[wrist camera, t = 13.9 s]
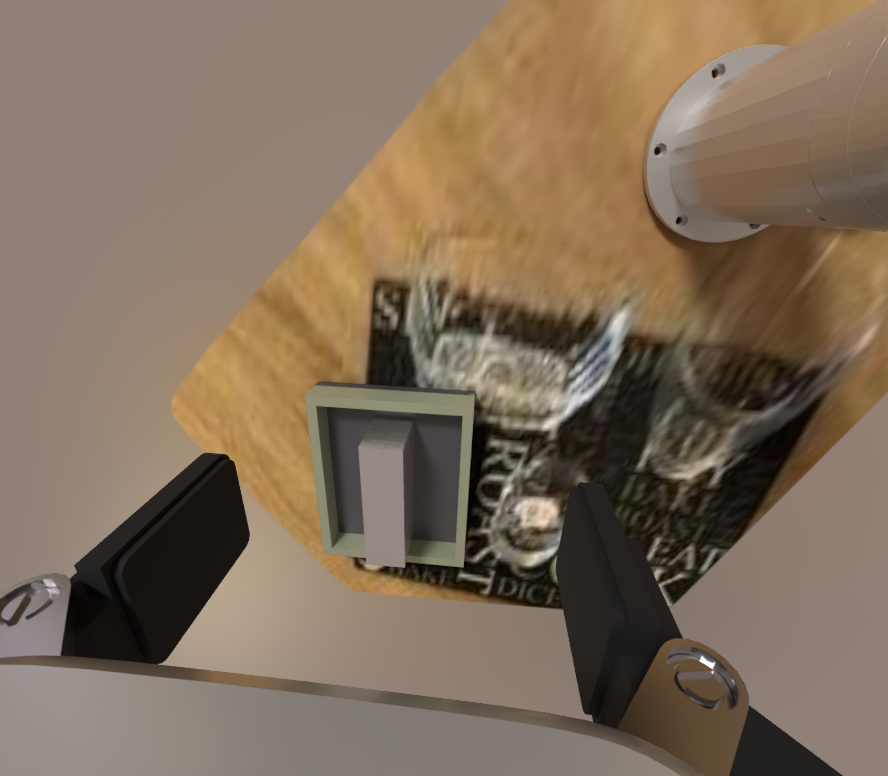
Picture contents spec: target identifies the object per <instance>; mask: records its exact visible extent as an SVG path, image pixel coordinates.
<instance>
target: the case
mask: <svg viewBox="0 0 888 776" xmlns="http://www.w3.org/2000/svg"><path fill="white" fill-rule="evenodd" d="M474 400H475V391H460V390H444V389H429V388H413V387H397V386H382V385H366V384H351V383H335V382H319V381H318V382H317V383H316V385H315V386H314V387H313V388H312V389H311V390H310V391H309V392H308V393H307V394H306V395H305V403H306V411H307V419H308V427H309V436H310V444H311V452H312V460H313V469H314V477H315V485H316V493H317V502H318V510H319V518H320V526H321V534H322V543H323V551H324V554H328V555H339V556H349V557H360V558H366V551H365V537H364V522H363V508H362V493H361V479H360V464H359V449H358V447H359V445H360V443H361V441H362V440H363V438H364V436H365V434H366V432H367V430H368V428H369V426H370V424H371V423H372V421H373V419H374V417H375V416H384V417H399V418H414V529H413V534H412V538H411V543H410V547H409V552H408V556H407V561H406V562H412V563H423V564H433V565H444V566H454V567H464V553H465V538H466V522H467V507H468V492H469V477H470V462H471V446H472V431H473V416H474Z"/></svg>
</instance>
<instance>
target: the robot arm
mask: <svg viewBox="0 0 888 776" xmlns="http://www.w3.org/2000/svg"><path fill="white" fill-rule="evenodd" d="M712 71H714V72H715V77H714V78H713V77H712ZM655 148H658V149H659V153H658V154H657V155H655V154H654V149H655ZM643 179H644V188H645V192H646V195H647V198H648V201H649V204H650V206H651V208H652V209H653V211H654V213H655V215H656V216H657V218H658V219H659V220H660V221H661V222H662V223H663V224H664V225H665V226H666V227H667V228H669V229H670V230H672V231H673V232H675V233H676V234H678V235H680V236H683V237H686V238H688V239H691V240H696V241H701V242H717V243H721V242H727V241H734V240H738V239H741V238H744V237H747V236H750V235H753V234H755V233H757V232H759V231H761V230H763V229H765V228H767V227H769V226H770V225H781V226H798V227H815V228H832V229H848V230H865V231H882V232H886V231H888V0H877V1H875V2H873V3H872V4H870V5H868V6H866V7H864V8H862V9H860V10H858V11H856V12H855V13H853V14H851V15H849V16H847V17H845V18H843V19H841V20H839V21H837V22H836V23H834V24H832V25H830V26H828V27H826V28H824V29H822V30H820V31H819V32H817V33H815V34H813V35H811V36H809V37H807V38H805V39H803V40H802V41H800V42H798V43H796V44H794V45H792V46H790V47H786V46H780V45H772V44H763V45H753V46H747V47H744V48H741V49H737V50H734V51H731V52H728V53H726V54H725V55H723V56H721V57H719V58H717V59H715V60H713V61H711V62H710V63H708V64H707V65H705V66H704V67H702V68H701V69H699V70H698V71H696V72H695V73H694V74H693V75H692V76H691V77H690V78H688V79H687V80H686V81H685V82H684V83H683V84H682V85H681V86H680V87H679V88H678V89H677V90H676V91H675V93H674V94H673V95H672V96H671V97H670V99H669V100H668V101H667V102H666V104H665V106H664V107H663V109H662V111H661V112H660V114H659V116H658V117H657V119H656V121H655V123H654V126H653V128H652V131H651V133H650V135H649V138H648V142H647V146H646V150H645V154H644V164H643ZM677 217H679V218H680V221H679V223H677V224H676V219H677ZM749 224H751V225H749ZM249 536H250V533H249V528H248V523H247V518H246V514H245V509H244V504H243V500H242V495H241V490H240V486H239V481H238V476H237V472H236V467H235V463H234V462H233V461H232V460H230V458H229V457H228V456H227V455H225V454H215V453H204V454H202V455H200V456H199V457H198V458H197V459H196V460H195V461H193V462H192V463H191V464H190V465H189V466H188V467H187V468H186V469H184V470H183V471H182V472H181V473H180V474H179V475H177V476H176V477H175V478H174V479H173V480H172V481H171V482H169V483H168V484H167V485H166V486H165V487H164V488H162V489H161V490H160V491H159V492H158V493H157V494H156V495H154V496H153V497H152V498H151V499H150V500H149V501H148V502H146V503H145V504H144V505H143V506H142V507H141V508H139V510H137V511H136V512H135V513H134V514H133V515H131V516H130V517H129V518H128V519H127V520H126V521H125V522H123V523H122V524H121V525H120V526H119V527H118V528H116V529H115V530H114V531H113V532H112V533H111V534H110V535H108V537H106V538H105V539H104V540H103V541H102V542H101V543H99V544H98V545H97V546H96V547H95V548H94V549H92V550H91V551H90V552H89V553H88V554H87V555H85V556H84V557H83V558H82V559H81V560H80V561H79V562H77V563H76V564H75V565H74V566H75V568H76V570H77V573H76V574H75V575H74V576H72V577H71V578H70V579H69V578H68V577H67V576H66V575H63V574H58V573H52V574H43V575H39V576H36V577H32V578H30V579H27V580H24V581H22V582H20V583H17V584H15V585H13V586H12V587H10V588H8V589H6V590H4V591H3V592H1V593H0V776H842V775H841V774H840V773H838V772H837V771H836V770H834V769H833V768H832V767H830V766H829V765H828V764H826V763H825V762H824V761H822V760H821V759H820V758H819V757H817V756H816V755H814V754H813V753H812V752H810V751H809V750H808V749H807V748H805V747H804V746H803V745H801V744H800V743H799V742H797V741H796V740H795V739H793V738H792V737H790V736H789V735H788V734H787V733H785V732H784V731H783V730H781V729H780V728H779V727H777V726H776V725H775V724H773V723H772V722H771V721H769V720H768V719H766V718H765V717H764V716H762V715H761V714H760V713H759V712H757V711H756V710H754V709H753V708H752V707H751V706H749V695H748V692H747V689H746V686H745V684H744V682H743V680H742V679H741V677H740V675H739V674H738V672H737V671H736V670H735V669H734V668H733V666H731V664H729V662H728V661H727V660H726V659H725V658H723V657H722V656H721V655H720V654H718V653H717V652H716V651H714V650H713V649H711V648H709V647H708V646H706V645H704V644H702V643H700V642H697V641H693V640H690V639H683V637H682V635H681V633H680V631H679V629H678V627H677V625H676V622H675V620H674V618H673V616H672V613H671V611H670V609H669V607H668V605H667V603H666V600H665V598H664V596H663V594H662V592H661V590H660V587H659V585H658V583H657V581H656V579H655V576H654V574H653V572H652V570H651V568H650V566H649V563H648V561H647V559H646V557H645V555H644V553H643V550H642V548H641V546H640V544H639V543H638V541H637V540H636V539H634V538H626V537H625V536H624V533H623V531H622V529H621V526H620V524H619V522H618V519H617V517H616V515H615V512H614V510H613V508H612V505H611V503H610V500H609V498H608V496H607V493H606V491H605V489H604V487H603V485H602V484H596V483H583V482H580V483H579V484H578V486H577V487H572V488H571V489H570V493H569V498H568V504H567V509H566V514H565V519H564V525H563V530H562V535H561V540H560V546H559V551H558V556H557V562H556V574H557V580H558V585H559V590H560V595H561V601H562V606H563V611H564V616H565V620H566V626H567V631H568V636H569V642H570V647H571V652H572V657H573V662H574V667H575V672H576V678H577V683H578V687H579V693H580V698H581V703H582V708H583V711H584V713H585V714H588V715H592V718H593V722H590V721H587V720H582V719H576V718H571V717H566V716H561V715H556V714H551V713H545V712H537V711H531V710H524V709H517V708H510V707H503V706H496V705H489V704H482V703H475V702H467V701H459V700H451V699H443V698H435V697H427V696H419V695H411V694H403V693H395V692H387V691H379V690H371V689H363V688H355V687H346V686H338V685H330V684H321V683H313V682H305V681H296V680H288V679H279V678H270V677H262V676H253V675H246V674H245V675H244V674H237V673H228V672H219V671H210V670H202V669H192V668H184V667H175V666H166V665H158V664H160V663H162V662H164V661H165V660H166V659H167V658H168V656H169V655H170V654H171V652H172V651H173V650H174V648H175V647H176V645H177V644H178V642H179V641H180V640H181V638H182V637H183V635H184V634H185V633H186V631H187V630H188V628H189V627H190V626H191V624H192V623H193V621H194V620H195V618H196V617H197V615H198V614H199V613H200V611H201V610H202V608H203V607H204V606H205V604H206V603H207V601H208V600H209V598H210V597H211V596H212V594H213V593H214V592H215V590H216V589H217V587H218V586H219V584H220V583H221V582H222V580H223V579H224V577H225V576H226V575H227V573H228V572H229V570H230V569H231V567H232V566H233V565H234V563H235V562H236V560H237V559H238V557H239V556H240V555H241V553H242V552H243V550H244V549H245V548H246V546H247V544H248V541H249Z"/></svg>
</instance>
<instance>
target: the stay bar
mask: <svg viewBox="0 0 888 776" xmlns="http://www.w3.org/2000/svg"><path fill="white" fill-rule="evenodd" d="M358 449H359V464H360V479H361V493H362V508H363V522H364V537H365V551H366V564H372V565H382V566H393V567H403V568H405V565H406V561H407V556H408V552H409V547H410V543H411V538H412V534H413V529H414V418H399V417H384V416H375V417H374V419H373V421H372V423H371V424H370V426H369V428H368V430H367V432H366V434H365V436H364V438H363V440H362V441H361V443H360V445H359V447H358Z"/></svg>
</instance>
